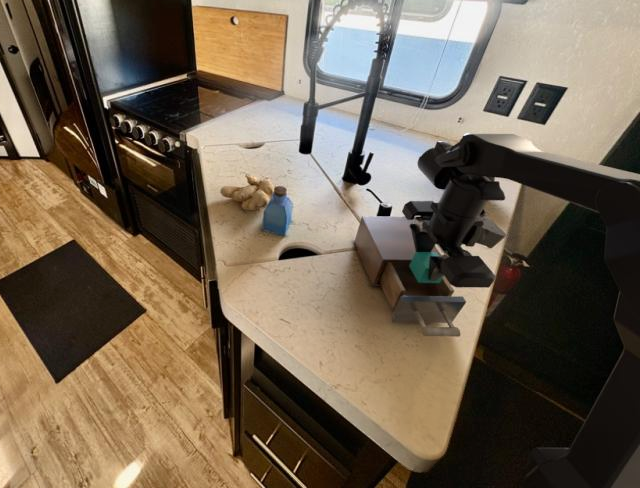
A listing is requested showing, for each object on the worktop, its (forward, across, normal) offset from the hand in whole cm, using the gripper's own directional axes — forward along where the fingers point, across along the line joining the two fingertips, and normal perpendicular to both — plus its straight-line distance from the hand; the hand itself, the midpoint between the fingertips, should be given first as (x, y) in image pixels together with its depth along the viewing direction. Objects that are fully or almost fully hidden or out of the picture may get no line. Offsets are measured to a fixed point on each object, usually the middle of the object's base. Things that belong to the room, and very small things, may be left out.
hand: (425, 270), depth 59 cm
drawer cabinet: (+10, +11, 0) cm, 15 cm away
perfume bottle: (+10, +24, +26) cm, 36 cm away
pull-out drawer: (+9, -1, 0) cm, 9 cm away
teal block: (+1, 0, 0) cm, 1 cm away
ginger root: (+10, +35, +31) cm, 48 cm away
